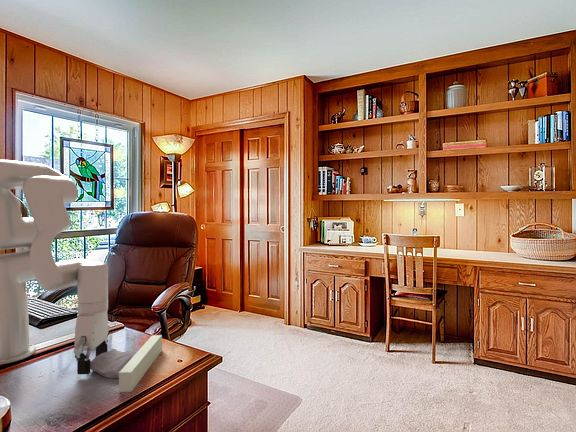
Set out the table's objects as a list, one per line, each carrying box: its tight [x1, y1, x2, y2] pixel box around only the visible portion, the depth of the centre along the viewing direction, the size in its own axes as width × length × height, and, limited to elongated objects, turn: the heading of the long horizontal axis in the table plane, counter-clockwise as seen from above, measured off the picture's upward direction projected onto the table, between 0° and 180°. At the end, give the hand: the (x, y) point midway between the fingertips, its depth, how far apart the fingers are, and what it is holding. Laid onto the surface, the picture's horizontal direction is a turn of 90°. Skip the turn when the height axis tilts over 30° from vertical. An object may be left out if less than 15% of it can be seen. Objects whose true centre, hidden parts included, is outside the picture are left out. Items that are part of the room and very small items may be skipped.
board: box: [118, 334, 163, 393], centre depth 99 cm, size 3×24×5 cm, turn 2°
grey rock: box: [90, 348, 138, 379], centre depth 98 cm, size 12×5×10 cm
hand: (93, 365), depth 99 cm, fingers open, 9 cm apart
